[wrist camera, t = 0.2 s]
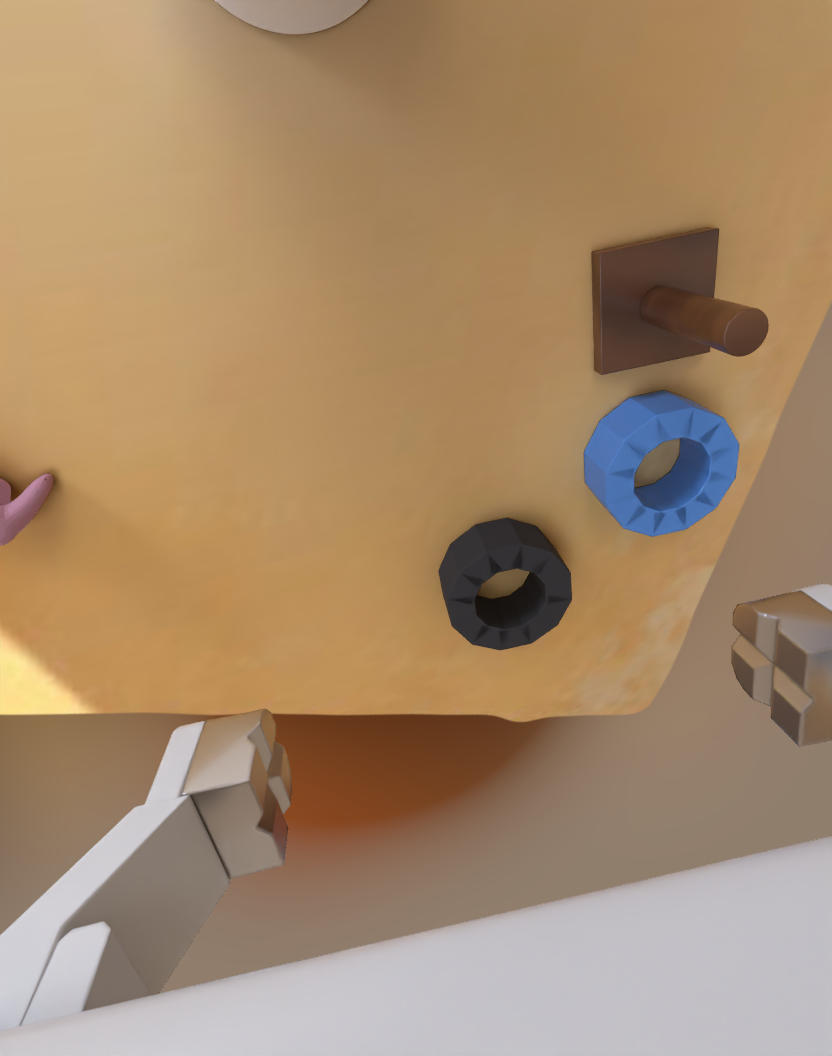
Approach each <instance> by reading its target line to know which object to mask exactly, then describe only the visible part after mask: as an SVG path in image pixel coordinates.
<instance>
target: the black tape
mask: <svg viewBox="0 0 832 1056" xmlns="http://www.w3.org/2000/svg"><path fill="white" fill-rule="evenodd" d="M512 569H521V570H525V571H529V572H530V574H529V576H528V577H527V579H526V581H525V583H524V585H523V586H522V587H520V588H519V589H518V590H516V591H515V592H514V593H512V594H511V595H510V596H505V597H501V598H496V599H489V598H485V597H481V596H477V593H478V591H479V589H480V587H481V585H482V584H483V583H484V582H486V581H487V580H488V579H490V578H491V577H492V576H494V575H495V574H496V573H498V572H503V571H508V570H512ZM439 576H440V581H441V587H442V592H443V597H444V600H445V604H446V607H447V611H448V614H449V618H450V621H451V625H452V627H454V628H455V629H456V630H457V631H458V632H459V633H460V634H461V635H462V636H463V637H465V638H466V639H467V640H468V641H469V642H470V643H471V644H473V645H477V646H482V647H487V648H492V649H497V650H504V649H508V648H513V647H517V646H522V645H526V644H531V643H533V642H534V641H536V640H537V639H539V638H540V637H541V636H543V635H544V634H546V633H547V632H549V631H550V630H551V629H553V628H554V627H556V626H557V625H558V624H559V622H560V620H561V618H562V617H563V615H564V613H565V611H566V609H567V608H568V606H569V604H570V602H571V601H572V591H571V573H570V571H569V569H568V568H567V566H566V565H565V563H564V562H563V560H562V559H561V557H560V555H559V554H558V552H557V551H556V549H555V548H554V546H553V545H552V544H551V543H550V541H549V540H548V539H547V538H546V537H545V536H544V534H543V533H542V532H541V531H540V530H539V529H538V528H537V526H535V525H531V524H527V523H524V522H520V521H517V520H513V519H509V518H504V519H500V520H495V521H490V522H486V523H481V524H477V525H475V526H473V527H472V528H471V529H469V530H468V531H467V532H466V533H464V534H463V535H462V536H460V537H459V538H458V539H457V540H455V541H454V542H453V543H451V545H450V546H449V548H448V551H447V553H446V555H445V557H444V560H443V562H442V564H441V567H440V569H439Z"/></svg>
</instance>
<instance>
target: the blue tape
mask: <svg viewBox="0 0 832 1056" xmlns="http://www.w3.org/2000/svg"><path fill="white" fill-rule="evenodd" d="M678 438H681V439H680V456H679V457H678V459H677V461H676V463H675V464H674V466H673V468H672V469H671V471H670V472H669V473H668V474H667V475H665V476H664V477H663V478H661V479H660V480H659V481H657V482H656V483H654V484H652V485H647V486H643V487H638V488H634V474H635V472H636V470H637V469H638V467H639V465H640V463H641V461H642V460H643V458H644V456H645V455H646V454H647V453H649V452H650V451H651V450H653V449H654V448H655V447H657V446H658V445H659V444H661V443H662V442H664V441H668V440H673V439H678ZM738 452H739V443H738V441H737V440H736V438H735V436H734V434H733V432H732V431H731V429H730V427H729V425H728V424H727V422H726V420H725V419H724V418H723V417H721V416H719V415H718V414H716V413H714V412H712V411H710V410H708V409H707V408H705V407H703V406H701V405H699V404H697V403H696V402H694V401H692V400H689V399H687V398H684V397H681V396H679V395H676V394H673V393H670V392H668V391H664V390H662V391H658V392H653V393H648V394H643V395H639V396H634V397H630V398H628V399H627V400H626V401H624V402H623V403H622V404H621V405H619V406H618V407H617V408H615V409H614V410H613V411H612V412H610V413H609V414H608V415H606V416H605V417H604V418H603V419H601V420H600V422H599V424H598V426H597V427H596V429H595V431H594V433H593V435H592V437H591V439H590V441H589V443H588V445H587V447H586V449H585V451H584V468H585V483H586V484H587V486H588V487H589V488H590V490H591V491H592V492H593V493H594V495H595V496H596V497H597V499H598V500H599V501H600V503H601V504H602V505H603V506H604V507H605V508H606V509H607V511H608V512H609V513H610V514H611V515H612V516H613V517H614V518H615V519H616V521H617V522H618V523H619V524H620V525H621V526H622V527H623V528H624V529H627V530H631V531H634V532H638V533H641V534H645V535H648V536H652V537H653V536H658V535H662V534H667V533H672V532H676V531H681V530H685V529H687V528H688V527H690V526H691V525H693V524H694V523H696V522H697V521H698V520H700V519H701V518H703V517H704V516H706V515H707V514H708V513H710V512H711V511H713V510H714V509H715V508H716V507H717V506H718V504H719V503H720V501H721V499H722V498H723V496H724V495H725V493H726V492H727V490H728V489H729V487H730V485H731V484H732V482H733V481H734V479H735V477H736V470H737V461H738Z"/></svg>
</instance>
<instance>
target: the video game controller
mask: <svg viewBox="0 0 832 1056" xmlns="http://www.w3.org/2000/svg"><path fill="white" fill-rule="evenodd" d="M53 484H54V479H53V476H52V475H51V474H44V475H42V476H40V477H39V478H37V479H36V480H35V481H33V482H32V483H31V484H30V485H29V486H28V487H27V488H26V489H25V490H24V491H23V493H22V494H21V495H20V496H19V497H17V498H16V499H15V500H14V501H12V502H11V499H10V497H11V487H10V485H9V484H8V483H7V482H6V481H5V480H3V479H0V546H1V545H5V544H7V543H8V542H10V541H12V540H13V539H14V538H15V536H16V535H17V533H19V532H20V531H21V530H22V529H23V528H24V527H25V526H26V525H27V524H28V523H29V522H30V521H31V520H32V519H33V518H34V516H35V515H36V514H37V512H38V511H39V509H40V508H41V506H42V504H43V503H44V501H45V499H46V498H47V496H48V494H49V493H50V491H51V489H52V487H53Z"/></svg>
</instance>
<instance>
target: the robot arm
mask: <svg viewBox="0 0 832 1056" xmlns="http://www.w3.org/2000/svg"><path fill="white" fill-rule="evenodd" d="M214 1H215V2H217V3H218V4H219V5H220V6H221V7H223V8H224V9H225V10H227V11H228V12H230V13H231V14H233V15H234V16H236V17H237V18H239V19H241V20H243V21H245V22H247V23H249V24H251V25H253V26H256V27H258V28H261V29H264V30H267V31H271V32H276V33H282V34H308V33H314V32H318V31H322V30H325V29H328V28H330V27H332V26H335V25H337V24H339V23H341V22H342V21H344V20H346V19H347V18H349V17H350V16H351V15H353V14H354V13H355V12H357V11H358V10H359V9H360V8H361V7H362V6H363V5H364V4H365V3H366V2H367V1H368V0H214ZM732 625H733V626H734V627H735V628H736V629H737V631H738V632H739V633H740V635H739V637H738V638H737V640H736V641H735V642H734V644H733V645H732V648H731V650H732V651H731V652H732V666H733V668H734V672H735V675H736V678H737V679H738V681H739V683H740V685H741V686H742V688H743V689H744V690H745V691H746V692H747V693H748V695H749V696H750V697H751V698H752V699H753V700H755V701H758V702H760V703H763V704H766V705H768V706H770V707H771V719H772V720H773V721H774V722H775V723H776V724H777V725H778V726H779V727H780V728H781V729H782V730H783V731H784V732H785V733H786V734H787V735H788V736H789V737H790V738H791V739H792V740H793V741H794V742H795V743H796V744H797V745H798V746H799V747H801V746H806V745H811V744H816V743H821V742H826V741H831V740H832V585H828V584H823V583H822V584H818V585H814V586H810V587H806V588H802V589H798V590H794V591H793V592H790V593H786V594H781V595H777V596H772V597H768V598H763V599H759V600H755V601H750V602H746V603H741V604H737V606H736V608H735V610H734V612H733V624H732ZM275 734H276V725H275V722H274V719H273V717H272V715H271V712H270V711H268V710H267V709H262V710H257V711H252V712H247V713H242V714H237V715H231V716H226V717H221V718H217V719H211V720H208V721H203V722H198V723H194V724H189V725H184V726H179V727H178V728H177V729H176V730H175V731H174V732H173V733H172V736H171V738H170V741H169V744H168V746H167V749H166V751H165V754H164V756H163V759H162V761H161V764H160V767H159V769H158V772H157V774H156V777H155V780H154V782H153V785H152V787H151V790H150V792H149V795H148V797H147V800H146V803H145V805H142V806H138V807H135V808H134V809H133V810H132V811H131V812H130V813H128V814H127V815H126V817H124V818H123V819H122V820H121V821H120V822H119V823H118V824H117V825H116V826H115V827H114V828H113V829H112V830H111V831H110V832H108V834H106V835H105V836H104V837H103V838H102V839H101V840H100V841H99V842H98V843H97V844H96V845H95V846H94V847H93V848H92V849H91V850H90V851H89V852H87V854H85V855H84V856H83V857H82V858H81V859H80V860H79V861H78V862H77V863H76V864H75V865H74V866H73V867H72V868H71V869H70V870H69V871H68V872H66V873H65V874H64V875H63V876H62V877H61V878H60V879H59V880H58V881H57V882H56V883H55V884H54V885H53V886H52V887H51V888H50V889H49V890H48V891H47V892H45V893H44V894H43V895H42V896H41V897H40V898H39V899H38V900H37V901H36V902H35V903H34V904H33V905H32V906H31V907H30V908H29V909H28V910H27V911H26V912H25V913H23V914H22V915H21V916H20V917H19V918H18V919H17V920H16V921H15V922H14V923H13V924H12V925H11V926H10V927H9V928H8V929H7V930H6V931H5V932H3V933H2V934H1V936H0V1056H832V836H830V837H825V838H821V839H816V840H812V841H808V842H804V843H800V844H795V845H791V846H786V847H782V848H778V849H774V850H770V851H765V852H761V853H757V854H753V855H748V856H744V857H739V858H735V859H731V860H727V861H722V862H718V863H714V864H710V865H705V866H701V867H697V868H693V869H688V870H684V871H680V872H675V873H671V874H667V875H663V876H658V877H654V878H650V879H646V880H641V881H637V882H633V883H628V884H624V885H620V886H616V887H611V888H607V889H603V890H599V891H594V892H590V893H586V894H582V895H577V896H573V897H569V898H565V899H560V900H556V901H552V902H548V903H544V904H539V905H535V906H530V907H526V908H522V909H518V910H513V911H509V912H505V913H501V914H496V915H492V916H488V917H483V918H479V919H475V920H471V921H466V922H462V923H458V924H453V925H449V926H445V927H441V928H436V929H432V930H428V931H424V932H420V933H415V934H411V935H407V936H403V937H398V938H394V939H390V940H385V941H381V942H377V943H372V944H369V945H364V946H360V947H356V948H351V949H347V950H343V951H338V952H334V953H330V954H326V955H321V956H317V957H313V958H308V959H304V960H300V961H296V962H291V963H288V964H283V965H279V966H274V967H270V968H266V969H262V970H257V971H253V972H249V973H244V974H241V975H236V976H232V977H228V978H223V979H219V980H215V981H210V982H206V983H202V984H198V985H193V986H189V987H185V988H181V989H176V990H172V991H168V992H164V993H160V991H161V990H162V988H163V987H164V985H165V983H166V982H167V980H168V979H169V977H170V976H171V974H172V973H173V971H174V969H175V968H176V966H177V965H178V963H179V961H180V960H181V959H182V957H183V955H184V954H185V952H186V951H187V949H188V948H189V946H190V945H191V943H192V941H193V940H194V938H195V937H196V935H197V934H198V932H199V931H200V929H201V928H202V926H203V925H204V923H205V921H206V920H207V918H208V917H209V915H210V914H211V912H212V911H213V909H214V907H215V906H216V904H217V903H218V901H219V900H220V898H221V897H222V895H223V894H224V892H225V890H226V889H227V887H228V886H229V884H230V880H229V879H233V878H236V877H240V876H244V875H248V874H252V873H255V872H260V871H263V870H267V869H271V868H275V867H279V866H282V865H284V860H285V851H286V842H287V833H288V826H287V824H286V821H285V818H284V816H283V813H284V812H285V811H286V810H287V809H288V807H289V806H290V805H291V794H292V784H291V771H290V766H289V762H288V758H287V755H286V752H285V749H284V747H283V746H282V745H280V744H278V743H277V742H275Z"/></svg>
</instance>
